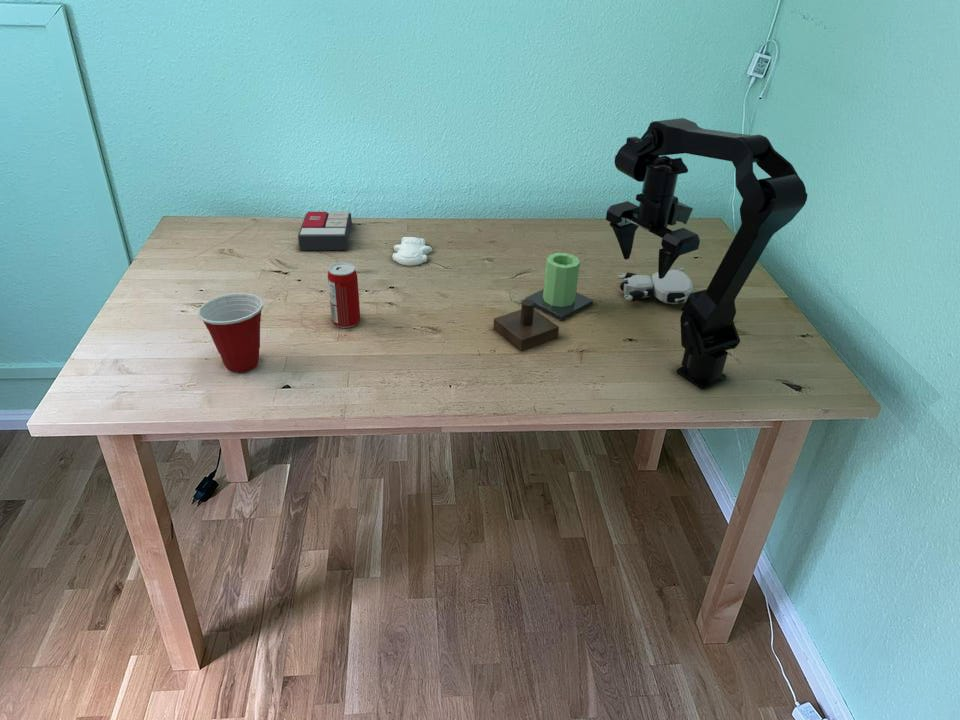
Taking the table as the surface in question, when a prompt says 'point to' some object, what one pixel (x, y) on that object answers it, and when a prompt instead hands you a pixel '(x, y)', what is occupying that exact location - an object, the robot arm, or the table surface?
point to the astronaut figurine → (411, 251)
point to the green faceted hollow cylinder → (561, 279)
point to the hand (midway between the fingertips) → (643, 268)
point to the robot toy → (657, 286)
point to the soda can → (344, 295)
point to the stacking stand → (526, 327)
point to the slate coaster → (560, 312)
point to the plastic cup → (234, 328)
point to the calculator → (325, 231)
